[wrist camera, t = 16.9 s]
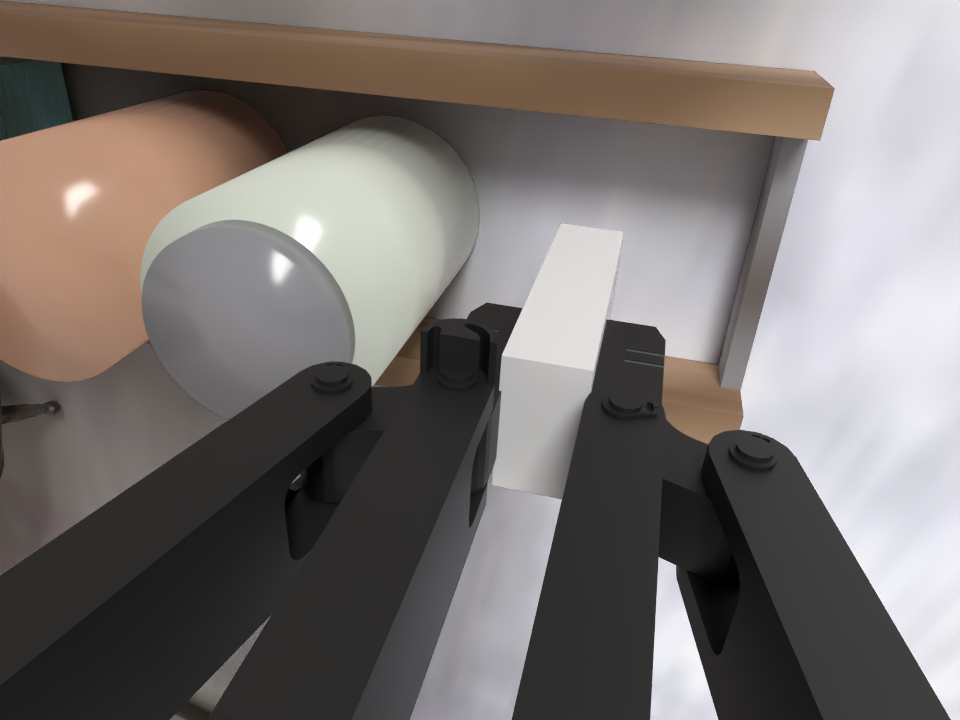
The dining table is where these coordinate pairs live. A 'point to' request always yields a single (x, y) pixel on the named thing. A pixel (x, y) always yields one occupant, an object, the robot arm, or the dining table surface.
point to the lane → (495, 83)
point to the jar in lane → (105, 220)
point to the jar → (308, 261)
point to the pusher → (31, 96)
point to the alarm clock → (22, 417)
